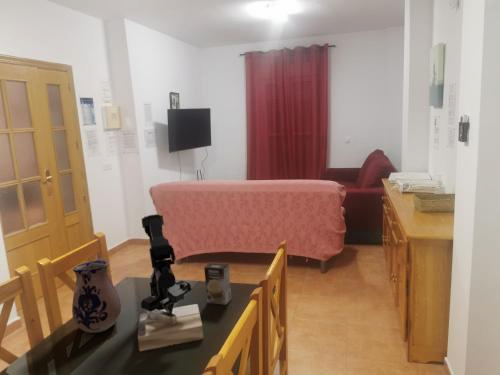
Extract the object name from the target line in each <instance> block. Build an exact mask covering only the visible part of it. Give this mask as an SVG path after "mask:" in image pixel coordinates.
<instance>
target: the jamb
mask: <svg viewBox="0 0 500 375" xmlns="http://www.w3.org/2000/svg"><path fill="white" fill-rule="evenodd" d="M161 311H164V312H166V310H165V309H162V310H161ZM172 314H175V315H176V318H178V317H183V316H189V315H194V314H200V309H199V304H198V303H196V304H195V303H194V304H188V305H183V306H176V307H173V311H172ZM142 320H145V323H150V322H155V321H157V320H154V319H147V318H146V312H142V313H140V314H139V321H142Z"/></svg>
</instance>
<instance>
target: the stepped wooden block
mask: <svg viewBox="0 0 500 375" xmlns="http://www.w3.org/2000/svg"><path fill="white" fill-rule="evenodd" d="M202 323H203V322H202V318H201V314H200V313H199V314H194V315H189V316H183V317H178V318H177V323H176V324H174V325H171V324H168V323H164V322H161V321H155V322H150V323H145V320H142V321H140V320H138V326H137V327H138V331H137V341H138V342H137V343H138V350H139V352H143V351H144V352H145V351H148V350H152V349H159V348H163V347H168V346H169V345H170V346H173V345H174V344H175V345H179V344H185V343H189V342H194V341H201V340H204V332H203V330H204V329H203V328H204V327H203V324H202Z"/></svg>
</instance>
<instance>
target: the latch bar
mask: <svg viewBox="0 0 500 375" xmlns="http://www.w3.org/2000/svg"><path fill="white" fill-rule="evenodd" d="M144 310H145V313H146V318H147V319H154V320H157V321H161V322H164V323H168V324H171V325H174V324H176V323H177V318H176V315H175V314H172V313H168V312H164V311H161V310H157V309H155V310H153V311H148V310H146V309H144Z"/></svg>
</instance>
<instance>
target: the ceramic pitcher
mask: <svg viewBox="0 0 500 375" xmlns="http://www.w3.org/2000/svg"><path fill="white" fill-rule="evenodd" d="M108 267H109V262H108V261H105V259H104V258H98V259H97V260H93V261H86V262H83V263H82V264H79V265H77V266H75V267H73V268H72V271H73V272H74V273H75V279H76V281H75V286H74V293H73V298H72V304H71V309H72V310H71V313H72V318H73V321H74V323H75V324H76V325H77V327H78V328H79V329H80V330H81V331H84V332H87V333H89V334H90V333H91V334H96V333H102V332H105V331H107V330H108V329H110V328H111V327H112V326H113V325H114V324H115V323H116V322H117V320H118V319H119V316H120V314H121V312H122V311H121V309H122V305H121V304H122V303H121V299H120V297H119V294H118V292H117V289H116V288H115V286H114V284H113V282H112V280H111V279H110V277H109V270H108Z"/></svg>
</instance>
